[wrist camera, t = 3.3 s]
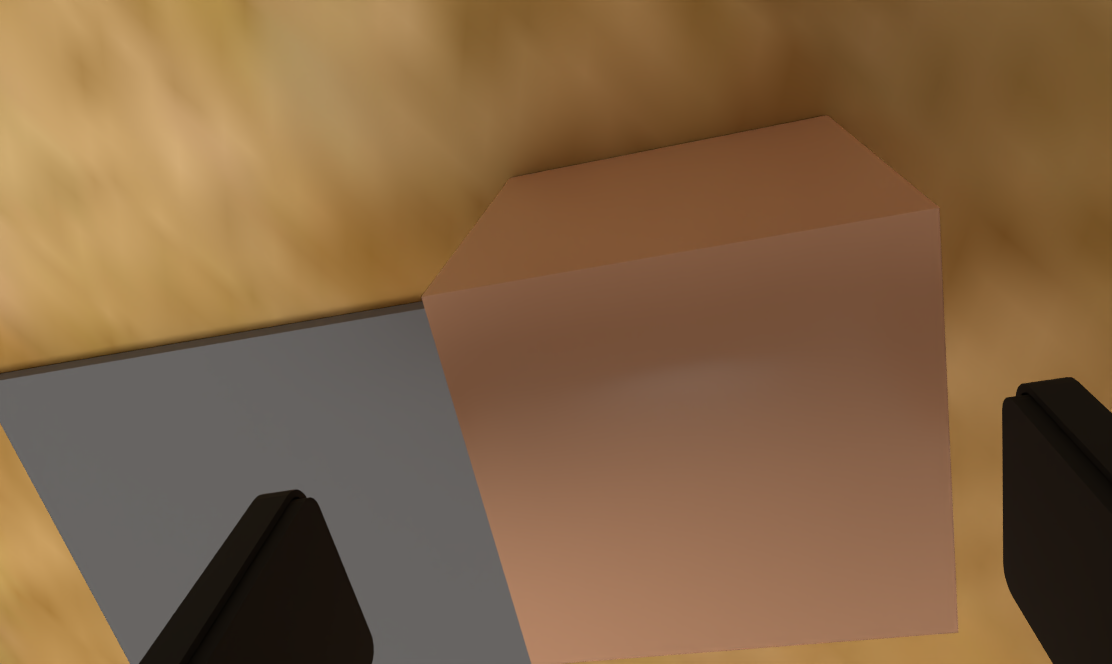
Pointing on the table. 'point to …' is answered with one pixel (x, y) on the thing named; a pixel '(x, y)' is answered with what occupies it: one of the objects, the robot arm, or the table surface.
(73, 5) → the table surface
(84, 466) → the charcoal mat
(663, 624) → the brown cube
